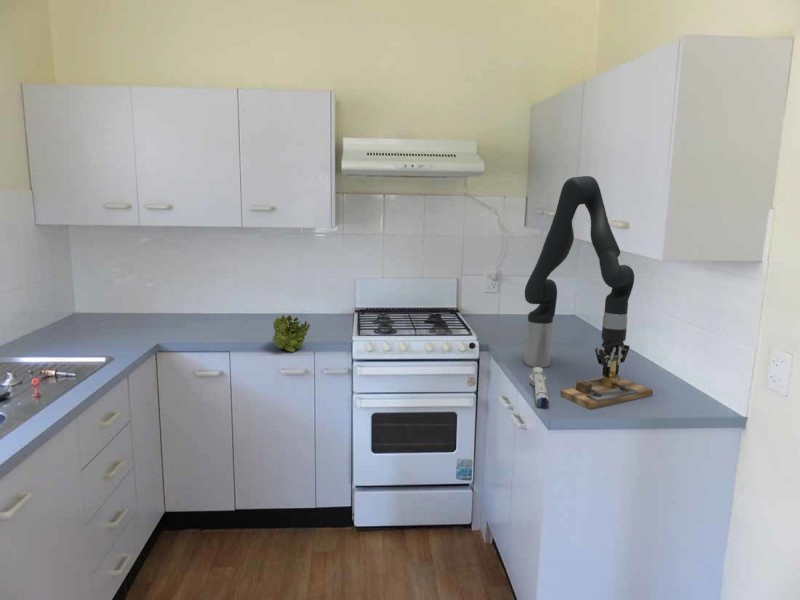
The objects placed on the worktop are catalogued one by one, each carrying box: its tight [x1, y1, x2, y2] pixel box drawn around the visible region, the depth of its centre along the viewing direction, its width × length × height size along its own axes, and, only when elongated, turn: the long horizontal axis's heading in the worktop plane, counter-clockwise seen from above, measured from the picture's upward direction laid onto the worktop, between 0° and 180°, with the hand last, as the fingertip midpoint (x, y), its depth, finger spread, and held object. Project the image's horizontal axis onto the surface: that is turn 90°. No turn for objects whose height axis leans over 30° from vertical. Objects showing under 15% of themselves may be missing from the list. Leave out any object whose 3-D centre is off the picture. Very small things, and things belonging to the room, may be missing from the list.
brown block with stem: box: [575, 379, 599, 394], centre depth 183 cm, size 8×3×3 cm, turn 27°
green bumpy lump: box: [272, 314, 311, 353], centre depth 235 cm, size 18×16×16 cm
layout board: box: [560, 374, 654, 410], centre depth 186 cm, size 13×28×4 cm, turn 117°
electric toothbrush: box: [529, 367, 550, 409], centre depth 187 cm, size 5×7×25 cm
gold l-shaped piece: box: [601, 359, 625, 389], centre depth 188 cm, size 8×3×9 cm, turn 27°
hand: (610, 375), depth 190 cm, fingers closed on gold l-shaped piece, 3 cm apart
